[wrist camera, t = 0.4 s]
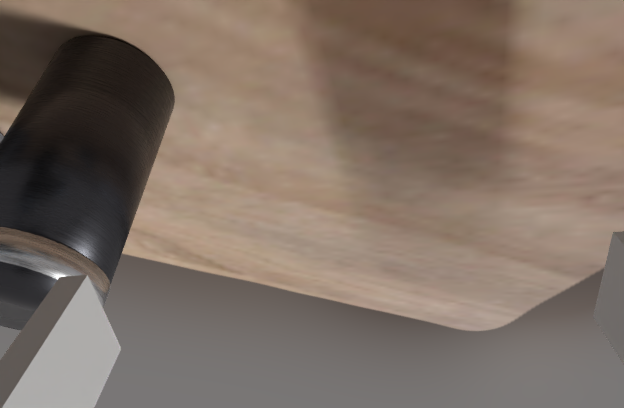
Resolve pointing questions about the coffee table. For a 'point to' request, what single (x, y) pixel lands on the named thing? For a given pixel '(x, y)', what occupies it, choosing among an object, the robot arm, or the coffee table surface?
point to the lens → (77, 170)
